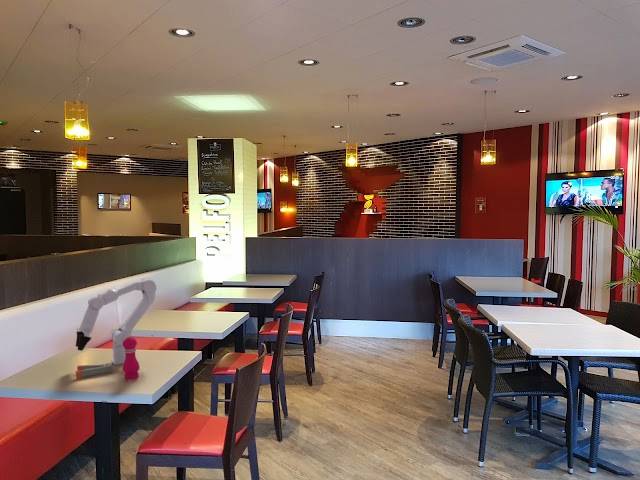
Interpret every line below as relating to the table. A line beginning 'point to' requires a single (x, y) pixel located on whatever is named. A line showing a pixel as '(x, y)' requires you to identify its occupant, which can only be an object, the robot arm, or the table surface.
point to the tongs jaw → (87, 367)
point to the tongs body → (94, 371)
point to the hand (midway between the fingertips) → (78, 348)
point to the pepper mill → (130, 359)
